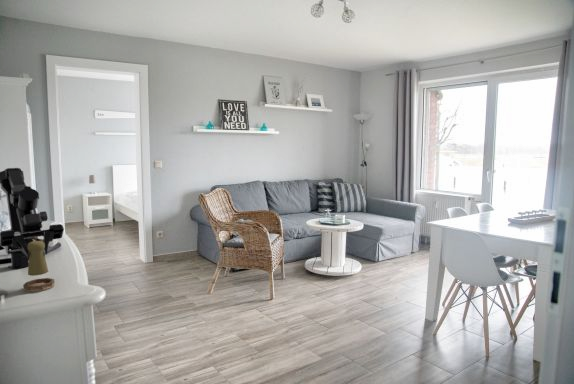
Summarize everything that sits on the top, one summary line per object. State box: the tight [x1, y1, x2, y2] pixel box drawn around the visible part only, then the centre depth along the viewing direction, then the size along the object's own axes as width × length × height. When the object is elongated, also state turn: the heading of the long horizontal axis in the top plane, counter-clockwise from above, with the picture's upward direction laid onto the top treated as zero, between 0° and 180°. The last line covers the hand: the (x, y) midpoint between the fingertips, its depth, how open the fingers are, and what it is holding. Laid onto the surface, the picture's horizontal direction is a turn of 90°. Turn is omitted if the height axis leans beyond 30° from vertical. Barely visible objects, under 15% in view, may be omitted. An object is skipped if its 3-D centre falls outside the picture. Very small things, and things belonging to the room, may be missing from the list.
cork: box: [27, 240, 49, 276], centre depth 139 cm, size 6×6×11 cm
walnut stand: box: [22, 277, 55, 293], centre depth 139 cm, size 9×9×2 cm
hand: (37, 254), depth 137 cm, fingers closed on cork, 5 cm apart
